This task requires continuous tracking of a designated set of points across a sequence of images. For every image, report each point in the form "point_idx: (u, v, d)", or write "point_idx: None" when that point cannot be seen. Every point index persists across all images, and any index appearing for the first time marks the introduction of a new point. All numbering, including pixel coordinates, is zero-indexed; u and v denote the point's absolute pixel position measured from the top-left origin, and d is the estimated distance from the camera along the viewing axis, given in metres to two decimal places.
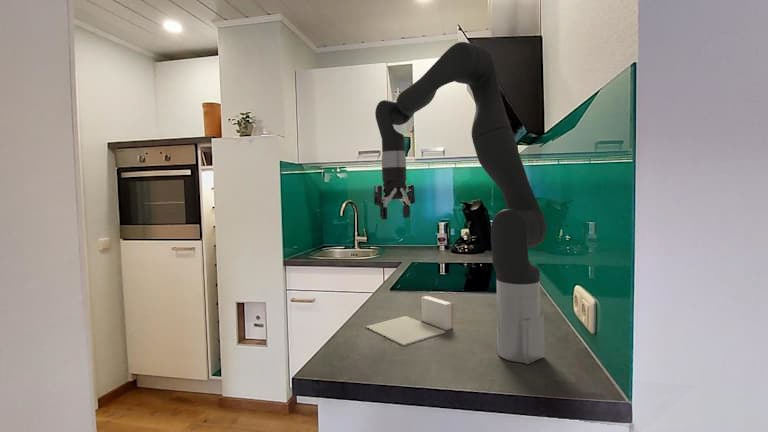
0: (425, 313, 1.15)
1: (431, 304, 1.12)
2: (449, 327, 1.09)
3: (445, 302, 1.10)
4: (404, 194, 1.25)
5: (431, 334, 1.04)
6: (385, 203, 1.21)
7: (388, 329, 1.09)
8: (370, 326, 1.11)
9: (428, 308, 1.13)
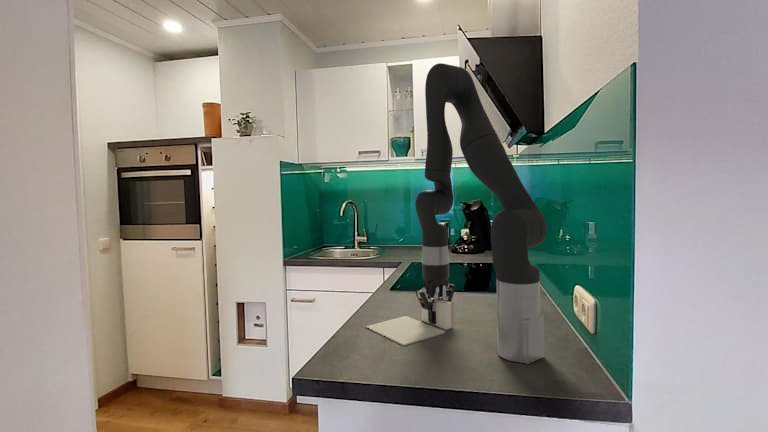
0: (425, 313, 1.15)
1: (431, 304, 1.12)
2: (449, 327, 1.09)
3: (445, 302, 1.10)
4: (444, 294, 1.12)
5: (431, 334, 1.04)
6: (434, 307, 1.11)
7: (388, 329, 1.09)
8: (370, 326, 1.11)
9: None
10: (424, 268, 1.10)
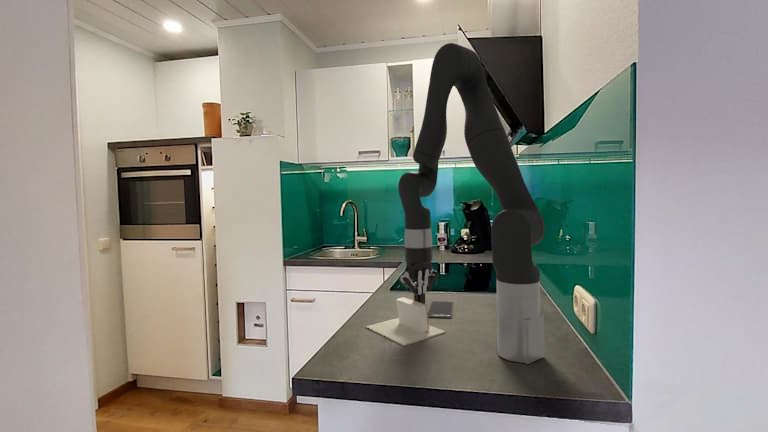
0: (401, 315, 1.12)
1: (406, 307, 1.09)
2: (425, 329, 1.06)
3: (419, 304, 1.06)
4: (426, 278, 1.10)
5: (431, 334, 1.04)
6: (420, 290, 1.09)
7: (388, 329, 1.09)
8: (370, 326, 1.11)
9: (404, 310, 1.10)
10: (406, 251, 1.08)
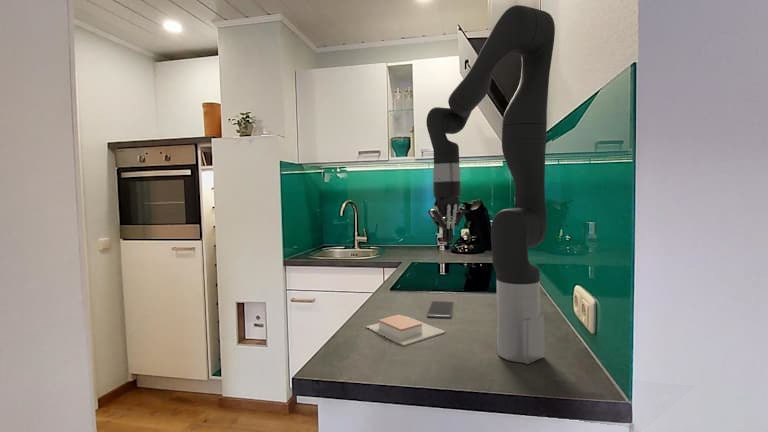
0: None
1: None
2: (420, 328, 1.05)
3: (397, 331, 1.02)
4: (454, 213, 1.12)
5: (431, 334, 1.04)
6: (449, 225, 1.11)
7: None
8: (370, 326, 1.11)
9: None
10: (435, 186, 1.10)
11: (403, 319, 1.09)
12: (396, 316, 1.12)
